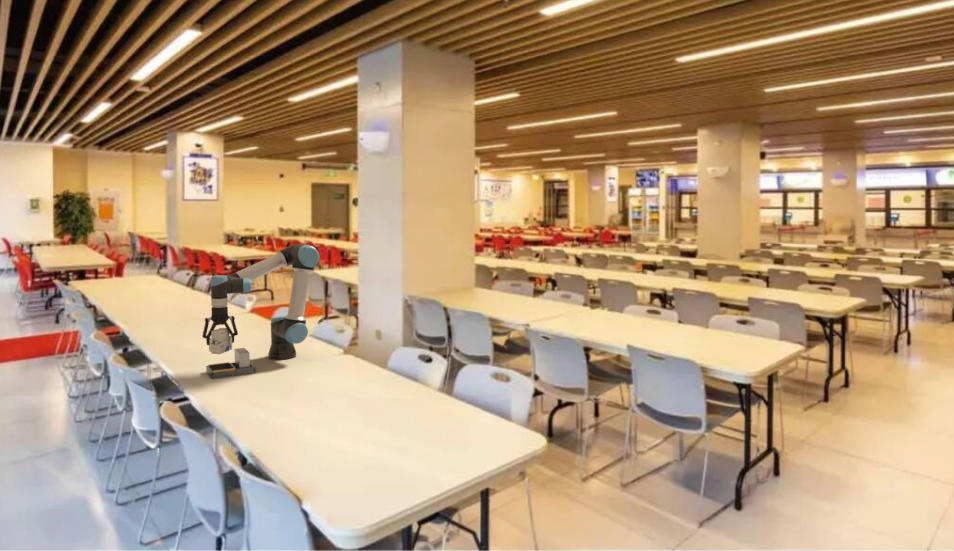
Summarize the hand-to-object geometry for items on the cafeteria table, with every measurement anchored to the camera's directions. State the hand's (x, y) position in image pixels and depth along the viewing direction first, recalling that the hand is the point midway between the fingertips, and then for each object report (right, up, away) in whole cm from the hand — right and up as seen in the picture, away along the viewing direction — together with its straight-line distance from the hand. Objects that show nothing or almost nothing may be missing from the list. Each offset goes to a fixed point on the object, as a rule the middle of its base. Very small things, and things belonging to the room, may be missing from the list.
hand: (220, 350), depth 303 cm
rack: (+4, -12, +4) cm, 13 cm away
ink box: (0, -1, 0) cm, 1 cm away
